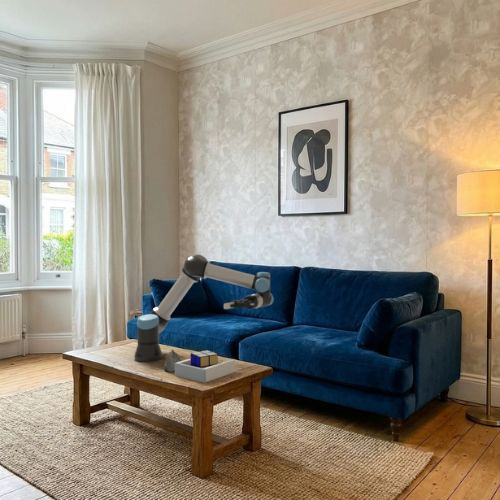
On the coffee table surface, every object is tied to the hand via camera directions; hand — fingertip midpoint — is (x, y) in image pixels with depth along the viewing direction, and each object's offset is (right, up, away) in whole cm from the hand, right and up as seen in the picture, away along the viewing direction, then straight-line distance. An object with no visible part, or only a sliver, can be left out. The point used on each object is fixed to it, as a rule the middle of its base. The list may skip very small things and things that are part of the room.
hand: (224, 306), depth 251 cm
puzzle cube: (-10, -32, -11) cm, 35 cm away
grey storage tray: (-9, -32, -12) cm, 35 cm away
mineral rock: (-26, -32, -2) cm, 41 cm away
